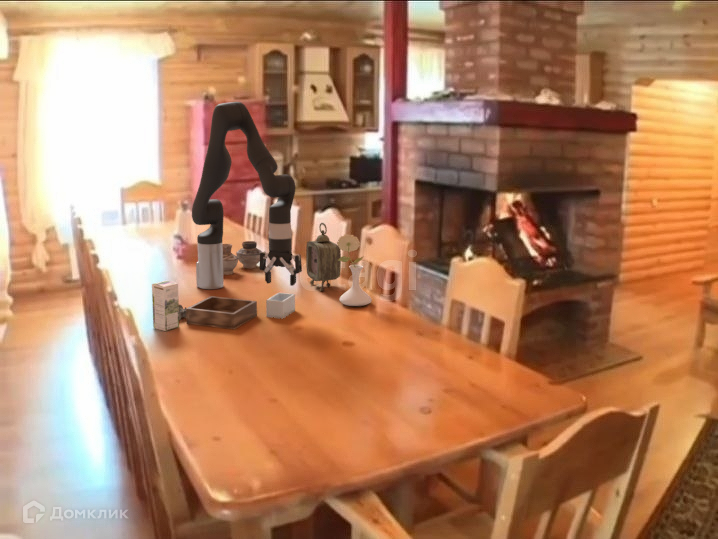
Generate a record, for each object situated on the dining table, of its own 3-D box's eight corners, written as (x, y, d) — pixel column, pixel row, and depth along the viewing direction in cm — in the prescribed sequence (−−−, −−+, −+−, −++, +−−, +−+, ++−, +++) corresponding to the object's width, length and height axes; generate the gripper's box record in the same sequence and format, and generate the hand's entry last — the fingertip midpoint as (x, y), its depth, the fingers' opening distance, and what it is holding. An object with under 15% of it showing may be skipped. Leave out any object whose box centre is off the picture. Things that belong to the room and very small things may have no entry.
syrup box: (167, 323, 235) (165, 279, 231) (180, 327, 231) (178, 282, 228) (153, 328, 230) (150, 283, 227) (165, 331, 227) (163, 286, 223)
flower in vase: (375, 302, 264) (377, 233, 258) (365, 310, 253) (367, 238, 248) (341, 298, 268) (342, 230, 262) (330, 306, 257) (330, 235, 252)
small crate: (266, 317, 244) (266, 299, 243) (278, 309, 253) (278, 292, 252) (283, 319, 242) (283, 301, 241) (295, 311, 251) (294, 294, 250)
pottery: (208, 273, 301) (207, 245, 298) (248, 262, 322) (247, 236, 319) (229, 277, 295) (228, 248, 292) (268, 266, 316) (268, 239, 313)
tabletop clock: (306, 283, 287) (306, 220, 282) (327, 282, 291) (328, 219, 285) (318, 293, 274) (319, 226, 269) (341, 290, 278) (342, 225, 272)
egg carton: (178, 313, 247) (178, 301, 247) (193, 317, 243) (192, 305, 242) (152, 319, 239) (151, 307, 238) (166, 324, 235) (166, 312, 234)
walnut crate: (186, 323, 235) (186, 308, 234) (211, 310, 250) (210, 296, 249) (234, 329, 230) (234, 314, 229) (256, 315, 245) (256, 301, 244)
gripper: (255, 236, 240) (256, 284, 244) (295, 239, 236) (296, 288, 239) (265, 232, 247) (266, 279, 251) (304, 235, 243) (304, 283, 246)
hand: (280, 284), depth 245 cm, fingers open, 8 cm apart
